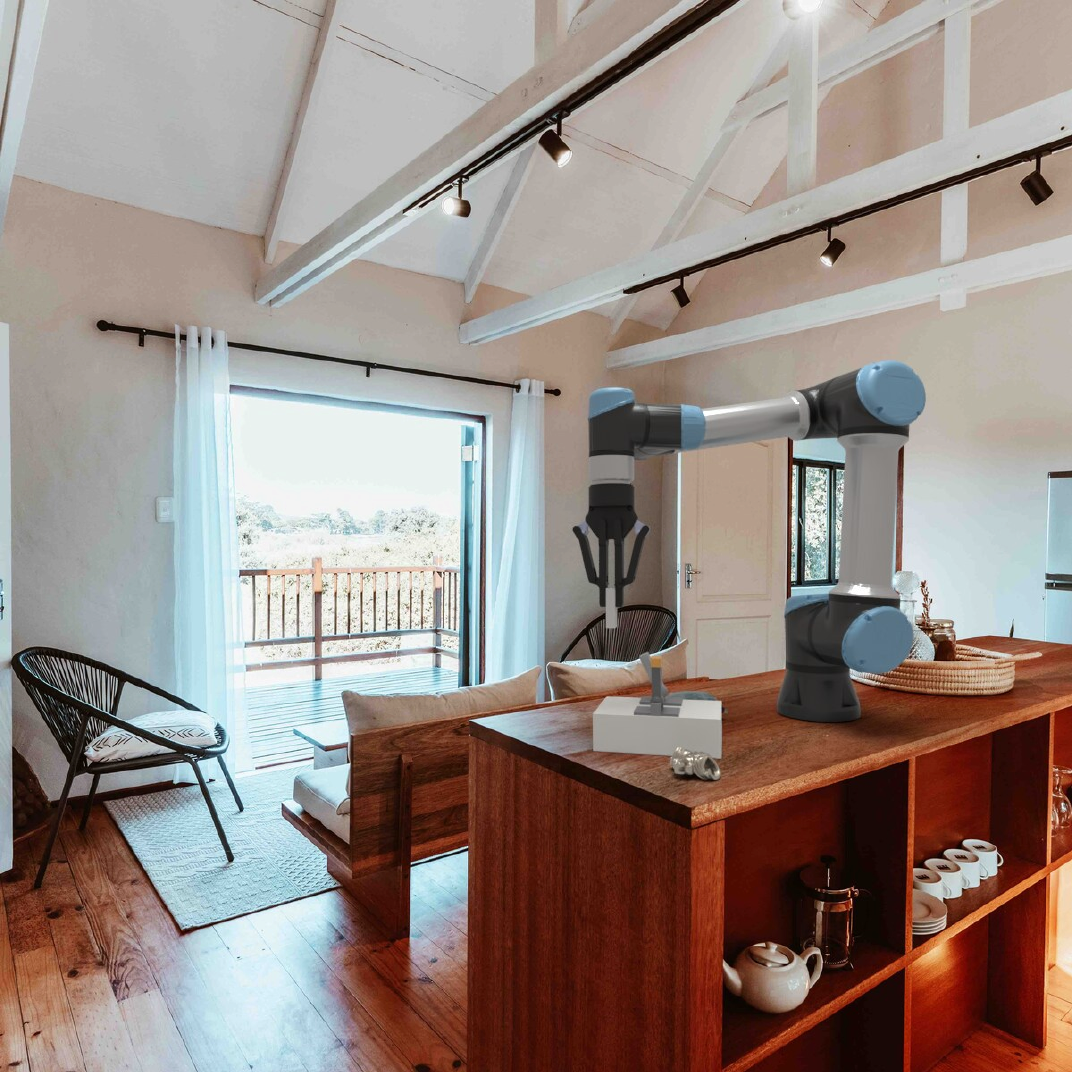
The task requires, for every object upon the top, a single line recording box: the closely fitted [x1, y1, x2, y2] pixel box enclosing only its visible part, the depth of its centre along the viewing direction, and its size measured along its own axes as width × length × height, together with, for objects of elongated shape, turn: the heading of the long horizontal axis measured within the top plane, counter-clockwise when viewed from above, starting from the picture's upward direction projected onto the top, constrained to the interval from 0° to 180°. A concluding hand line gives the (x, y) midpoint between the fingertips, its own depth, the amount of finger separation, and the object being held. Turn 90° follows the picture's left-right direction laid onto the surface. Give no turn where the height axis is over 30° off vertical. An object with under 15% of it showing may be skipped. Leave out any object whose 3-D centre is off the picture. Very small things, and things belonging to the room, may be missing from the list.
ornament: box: [669, 747, 722, 781], centre depth 107 cm, size 8×7×4 cm
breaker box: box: [592, 651, 723, 760], centre depth 124 cm, size 20×14×14 cm
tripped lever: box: [650, 655, 664, 707], centre depth 120 cm, size 2×3×8 cm
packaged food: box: [666, 690, 728, 714], centre depth 143 cm, size 9×12×5 cm
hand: (611, 627), depth 122 cm, fingers closed
